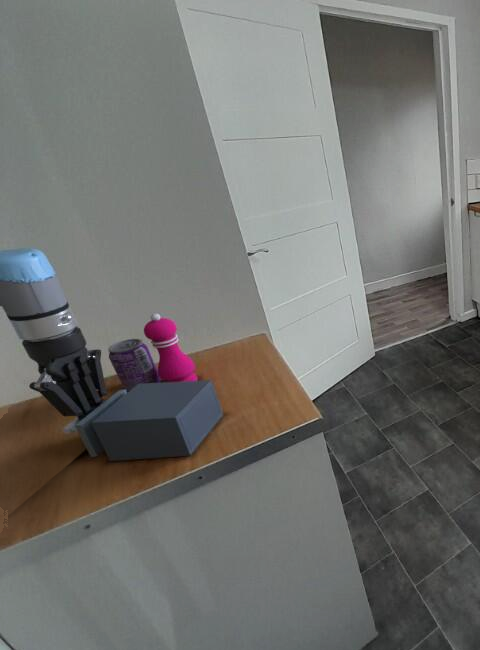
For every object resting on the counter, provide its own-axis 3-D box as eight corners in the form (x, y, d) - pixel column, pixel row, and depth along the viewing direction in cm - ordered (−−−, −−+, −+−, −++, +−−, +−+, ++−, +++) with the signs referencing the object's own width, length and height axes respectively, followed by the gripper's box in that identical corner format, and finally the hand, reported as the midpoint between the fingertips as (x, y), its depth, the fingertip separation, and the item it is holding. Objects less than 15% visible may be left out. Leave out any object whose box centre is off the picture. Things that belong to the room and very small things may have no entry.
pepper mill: (165, 396, 99) (133, 324, 91) (164, 382, 104) (134, 312, 96) (201, 385, 103) (174, 315, 95) (198, 372, 108) (172, 304, 100)
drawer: (62, 458, 79) (44, 427, 76) (108, 420, 90) (94, 390, 87) (165, 451, 82) (152, 420, 78) (198, 414, 92) (188, 386, 89)
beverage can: (161, 374, 107) (144, 334, 102) (162, 387, 102) (144, 346, 97) (125, 384, 103) (106, 343, 98) (125, 398, 98) (104, 356, 93)
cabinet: (110, 461, 80) (90, 422, 76) (153, 419, 92) (138, 383, 88) (190, 455, 82) (175, 417, 78) (223, 415, 93) (211, 380, 89)
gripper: (40, 350, 69) (95, 455, 79) (101, 317, 81) (142, 412, 91) (-10, 352, 69) (52, 458, 78) (59, 318, 80) (105, 414, 90)
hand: (100, 433), depth 84 cm, fingers closed
